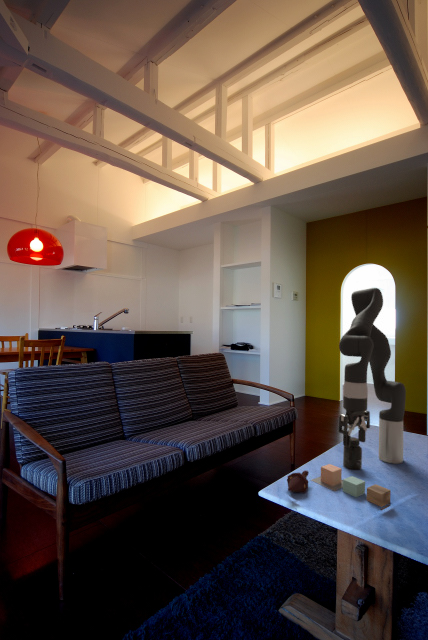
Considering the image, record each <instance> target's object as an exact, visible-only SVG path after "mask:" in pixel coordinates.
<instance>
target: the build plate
mask: <svg viewBox="0 0 428 640" xmlns="http://www.w3.org/2000/svg"><path fill="white" fill-rule="evenodd" d="M310 481H311V482H314V483H316V484H318V485H320V486H322V487H324V488H326V489H329V490H331V491H333V492H336V491H338V490H341V489H343V479H342V478H341V483H340V484H337V485H335V486H331V485H328V484H326V483H324V482H322V481H321V475H320V476H318V477H315V478H312V479H310Z"/></svg>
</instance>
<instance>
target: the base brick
mask: <svg viewBox="0 0 428 640" xmlns="http://www.w3.org/2000/svg"><path fill="white" fill-rule="evenodd" d="M342 471H343V470H342V468H341V467H339V466H336V465H333V464H331V463H328V464H326V465H322V466H320V476H321V481H322V482H324V483H326V484H328V485H331V486H335V485H337V484H340V483H341V479H342Z"/></svg>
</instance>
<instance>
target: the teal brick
mask: <svg viewBox="0 0 428 640" xmlns="http://www.w3.org/2000/svg"><path fill="white" fill-rule="evenodd" d="M342 480H343V488H342V492H344V493H345V494H348V495H350V496H352V497H355V498H358V497H360V496H362V495H365V494H366V481H365V480H363V479H361V478H357V477H355V476H353V475H351V476H348V477H345V478H343V479H342Z"/></svg>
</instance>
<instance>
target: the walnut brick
mask: <svg viewBox="0 0 428 640" xmlns="http://www.w3.org/2000/svg"><path fill="white" fill-rule="evenodd" d="M391 493H392V492H391V489H389V488H386V487H384V486H382V485H379V484H376V483H375V484H373V485H370V486H368V487H367V488H366V502H370V503H372V504H374V505H376V506H378V507H381V508H380V511H383V510H386V509H387V508H389V507H391Z"/></svg>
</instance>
